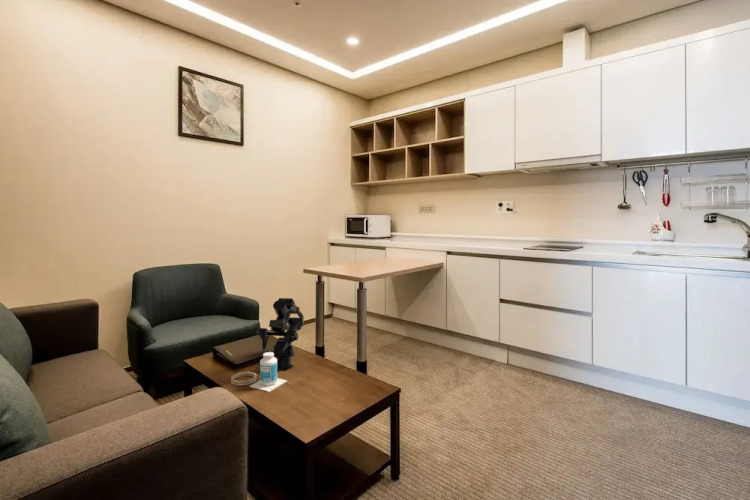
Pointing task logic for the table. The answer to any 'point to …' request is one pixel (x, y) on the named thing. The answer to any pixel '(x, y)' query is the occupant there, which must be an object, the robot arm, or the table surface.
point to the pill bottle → (268, 369)
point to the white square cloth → (268, 388)
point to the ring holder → (243, 381)
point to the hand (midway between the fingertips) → (272, 350)
